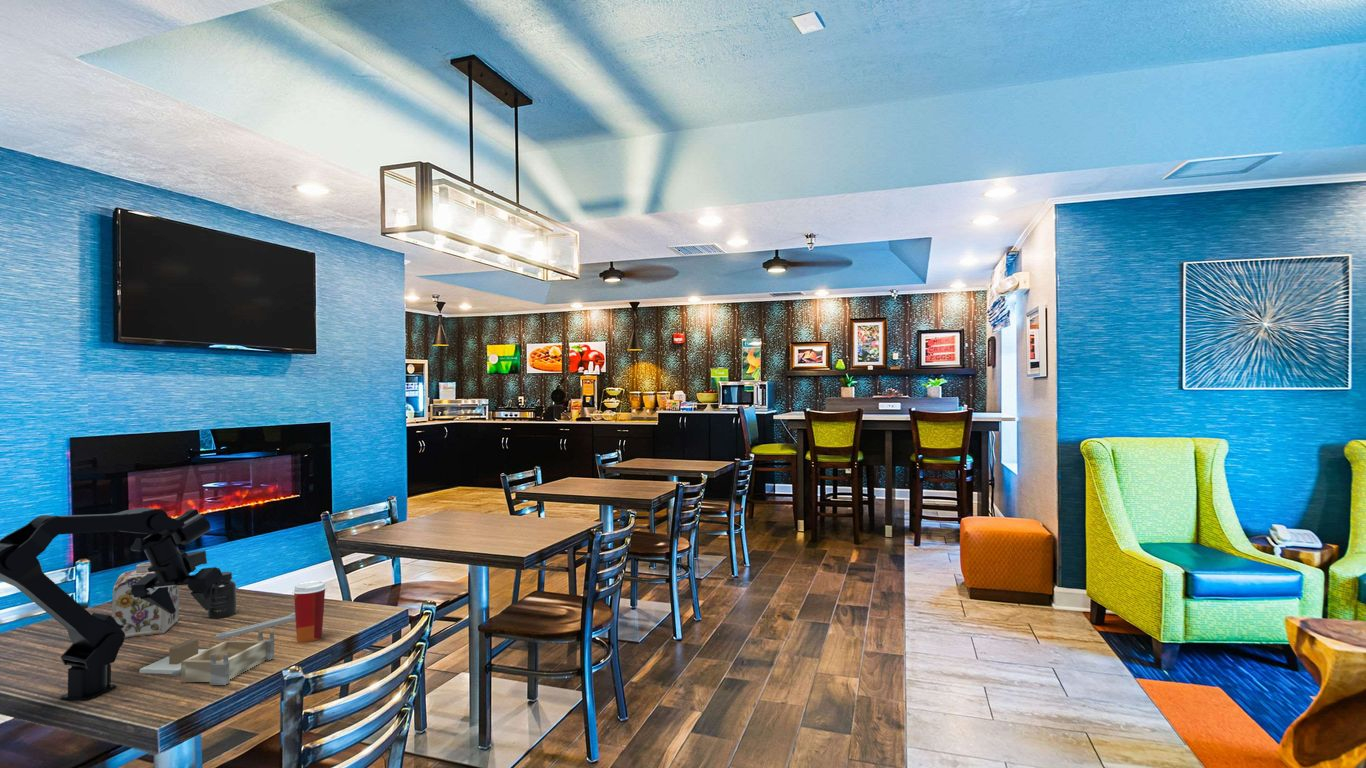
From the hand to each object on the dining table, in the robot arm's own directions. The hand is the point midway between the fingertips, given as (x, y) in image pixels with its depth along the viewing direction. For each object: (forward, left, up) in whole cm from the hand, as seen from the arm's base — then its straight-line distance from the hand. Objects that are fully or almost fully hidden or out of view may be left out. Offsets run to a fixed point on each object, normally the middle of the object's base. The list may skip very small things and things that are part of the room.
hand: (191, 611), depth 160 cm
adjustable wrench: (+24, -3, -12) cm, 27 cm away
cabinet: (-7, -14, -11) cm, 20 cm away
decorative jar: (+18, +29, -11) cm, 36 cm away
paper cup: (+14, -20, -11) cm, 27 cm away
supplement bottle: (+31, +18, -11) cm, 37 cm away
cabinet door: (-3, 0, -12) cm, 12 cm away
